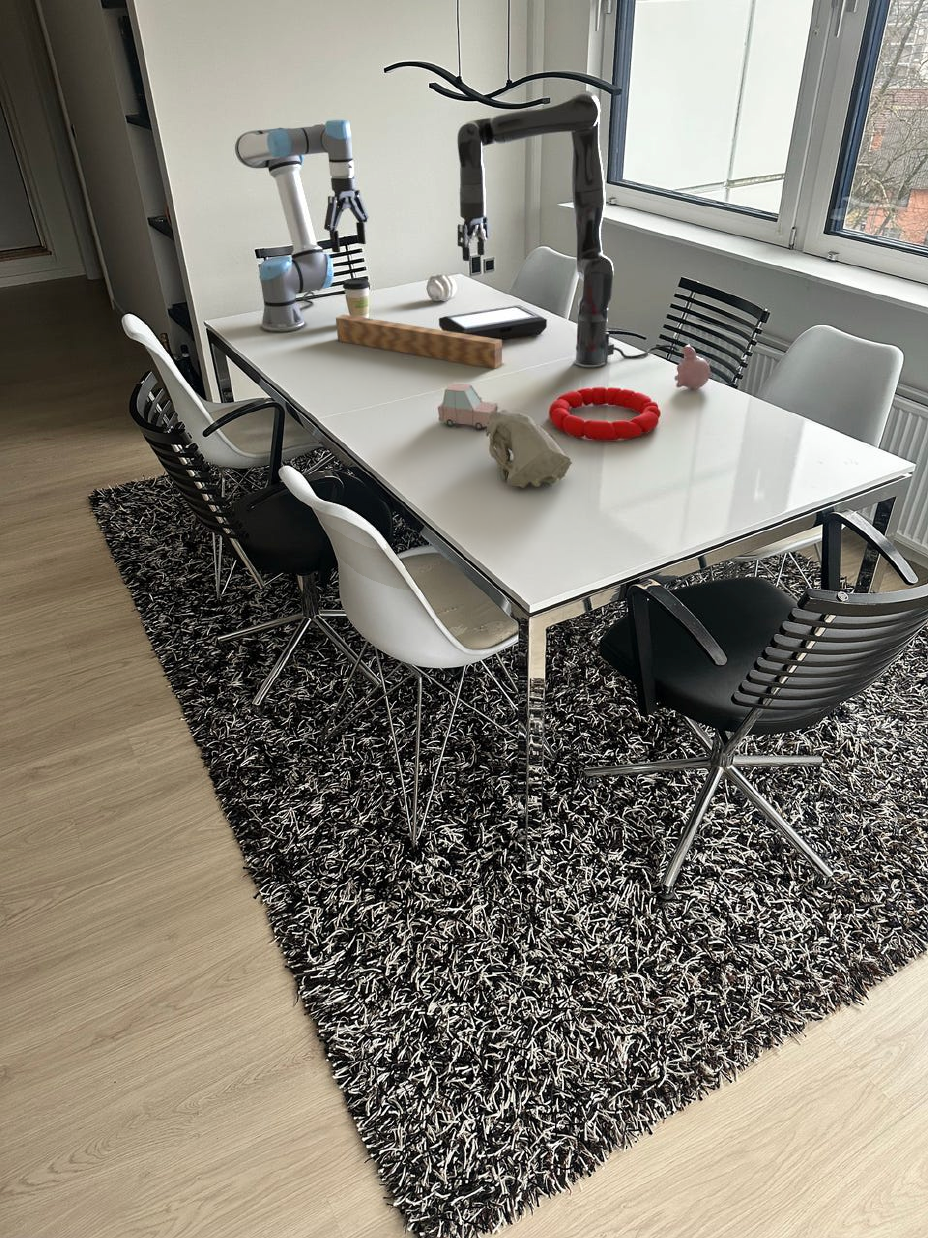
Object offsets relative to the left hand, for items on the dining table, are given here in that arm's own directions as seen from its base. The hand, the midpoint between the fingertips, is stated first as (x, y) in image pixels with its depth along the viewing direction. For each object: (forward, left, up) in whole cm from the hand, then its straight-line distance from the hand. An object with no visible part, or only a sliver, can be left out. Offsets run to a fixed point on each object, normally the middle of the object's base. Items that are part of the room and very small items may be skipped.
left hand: (349, 247), depth 292 cm
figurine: (+72, +92, -31) cm, 121 cm away
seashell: (-43, +37, -31) cm, 64 cm away
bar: (+16, +18, -31) cm, 39 cm away
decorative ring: (+90, +60, -31) cm, 112 cm away
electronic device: (+5, +47, -31) cm, 56 cm away
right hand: (+32, +36, +1) cm, 48 cm away
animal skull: (+114, +31, -31) cm, 122 cm away
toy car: (+82, +24, -31) cm, 90 cm away
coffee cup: (-22, +2, -31) cm, 38 cm away
